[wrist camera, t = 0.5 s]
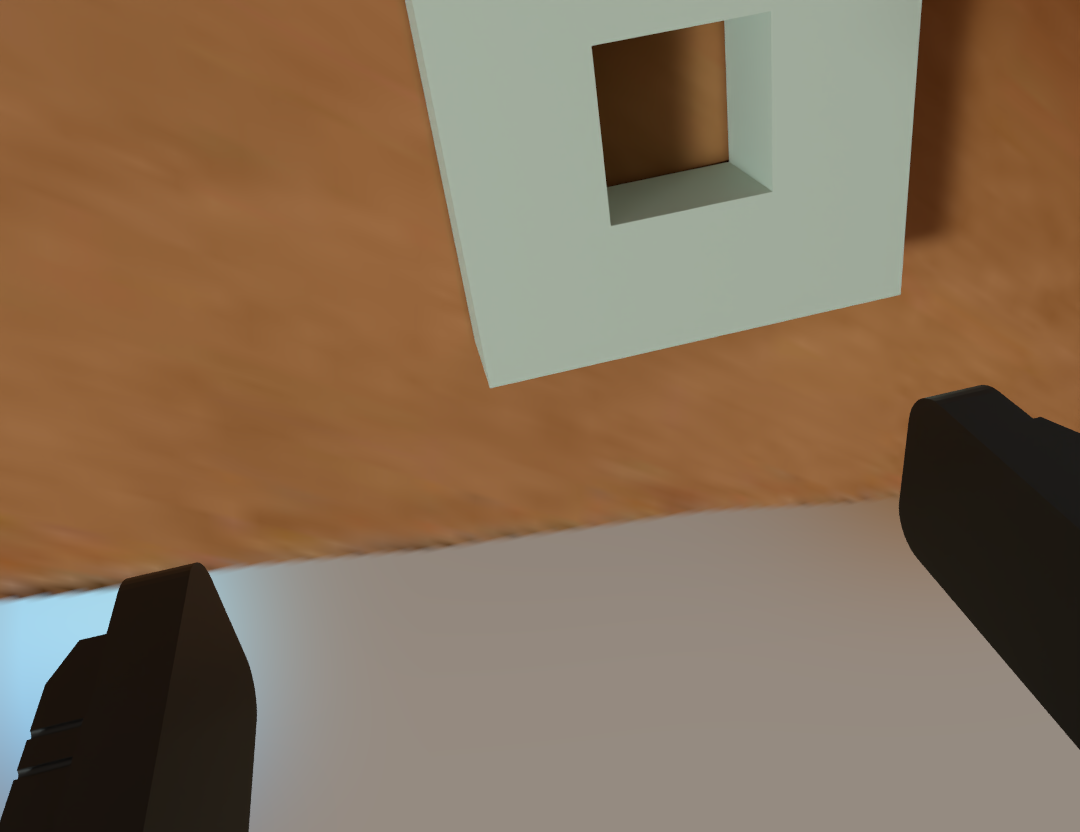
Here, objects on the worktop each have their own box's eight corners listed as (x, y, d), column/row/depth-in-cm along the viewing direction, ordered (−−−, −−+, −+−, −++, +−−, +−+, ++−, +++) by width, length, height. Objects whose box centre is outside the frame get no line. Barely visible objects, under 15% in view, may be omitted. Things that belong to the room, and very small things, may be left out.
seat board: (380, -118, 28) (387, -118, 24) (866, -201, 29) (937, -213, 26) (474, 341, 36) (490, 388, 33) (849, 257, 38) (900, 294, 34)
